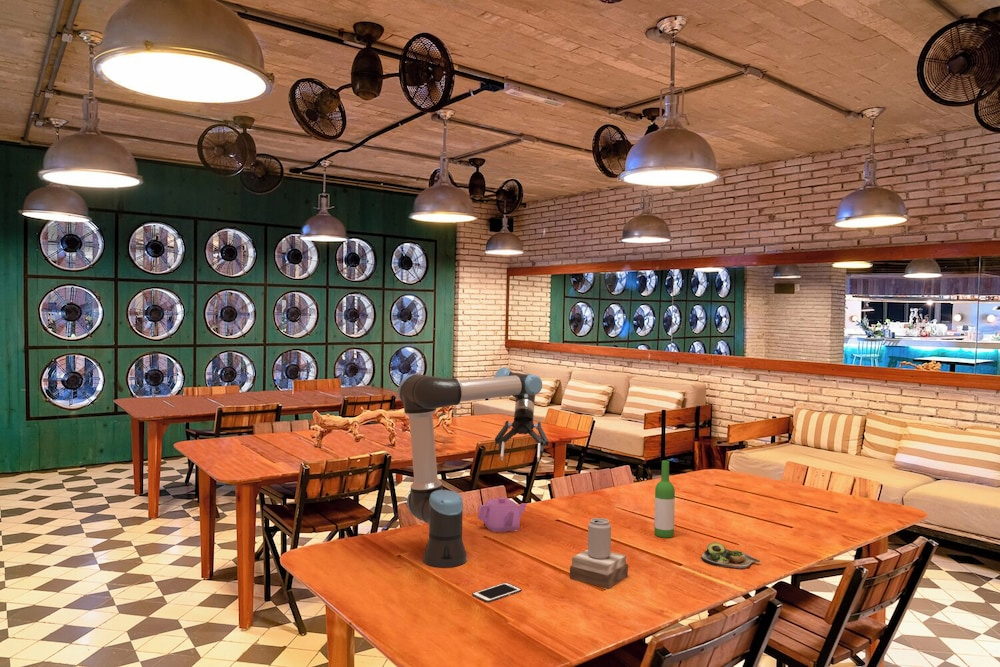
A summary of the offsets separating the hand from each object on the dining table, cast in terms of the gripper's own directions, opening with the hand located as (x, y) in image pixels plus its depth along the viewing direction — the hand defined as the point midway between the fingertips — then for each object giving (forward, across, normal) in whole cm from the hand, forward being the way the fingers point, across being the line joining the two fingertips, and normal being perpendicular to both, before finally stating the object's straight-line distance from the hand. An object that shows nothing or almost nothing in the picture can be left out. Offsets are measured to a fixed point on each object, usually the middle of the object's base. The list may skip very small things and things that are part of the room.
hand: (520, 459), depth 251 cm
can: (+36, -29, -2) cm, 46 cm away
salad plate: (+23, -75, -26) cm, 82 cm away
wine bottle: (+4, -56, -44) cm, 71 cm away
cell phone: (+54, +3, +6) cm, 54 cm away
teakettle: (+5, +9, -43) cm, 44 cm away
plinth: (+40, -29, -7) cm, 50 cm away
